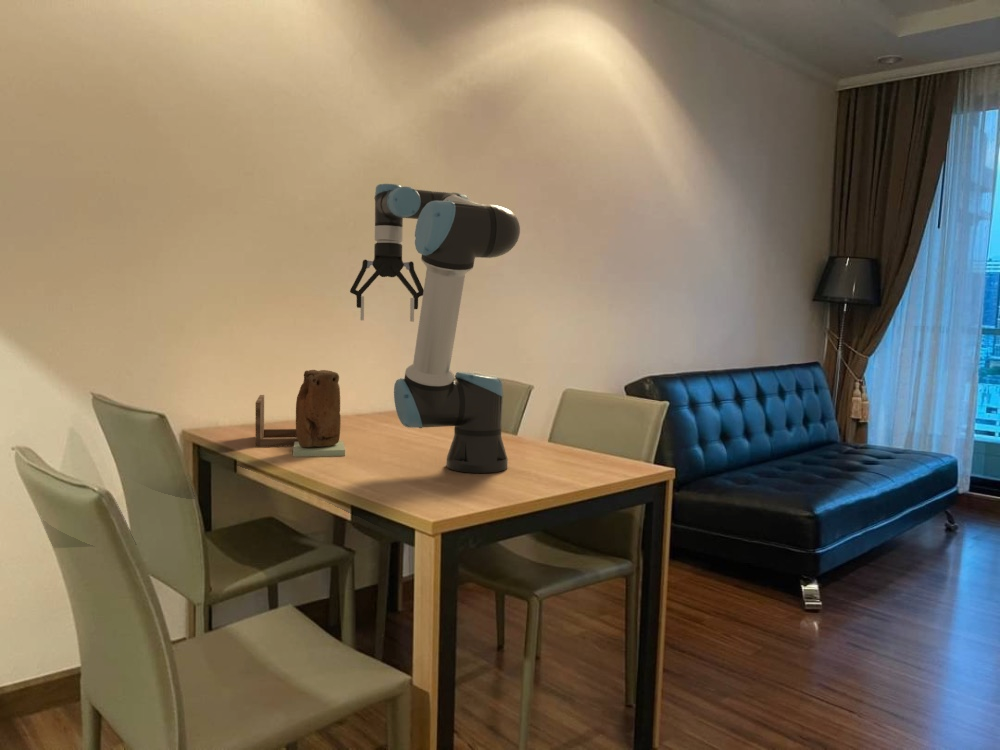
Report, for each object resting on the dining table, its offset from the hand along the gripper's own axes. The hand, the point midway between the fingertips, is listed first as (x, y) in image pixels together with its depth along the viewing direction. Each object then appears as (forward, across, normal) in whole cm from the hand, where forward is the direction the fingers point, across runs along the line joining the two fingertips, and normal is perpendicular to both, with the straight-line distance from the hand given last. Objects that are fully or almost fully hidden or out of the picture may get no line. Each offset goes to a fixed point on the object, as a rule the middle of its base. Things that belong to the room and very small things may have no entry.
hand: (387, 321), depth 214 cm
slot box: (+35, +26, -9) cm, 44 cm away
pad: (+35, +18, +7) cm, 40 cm away
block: (+33, +18, +7) cm, 39 cm away
